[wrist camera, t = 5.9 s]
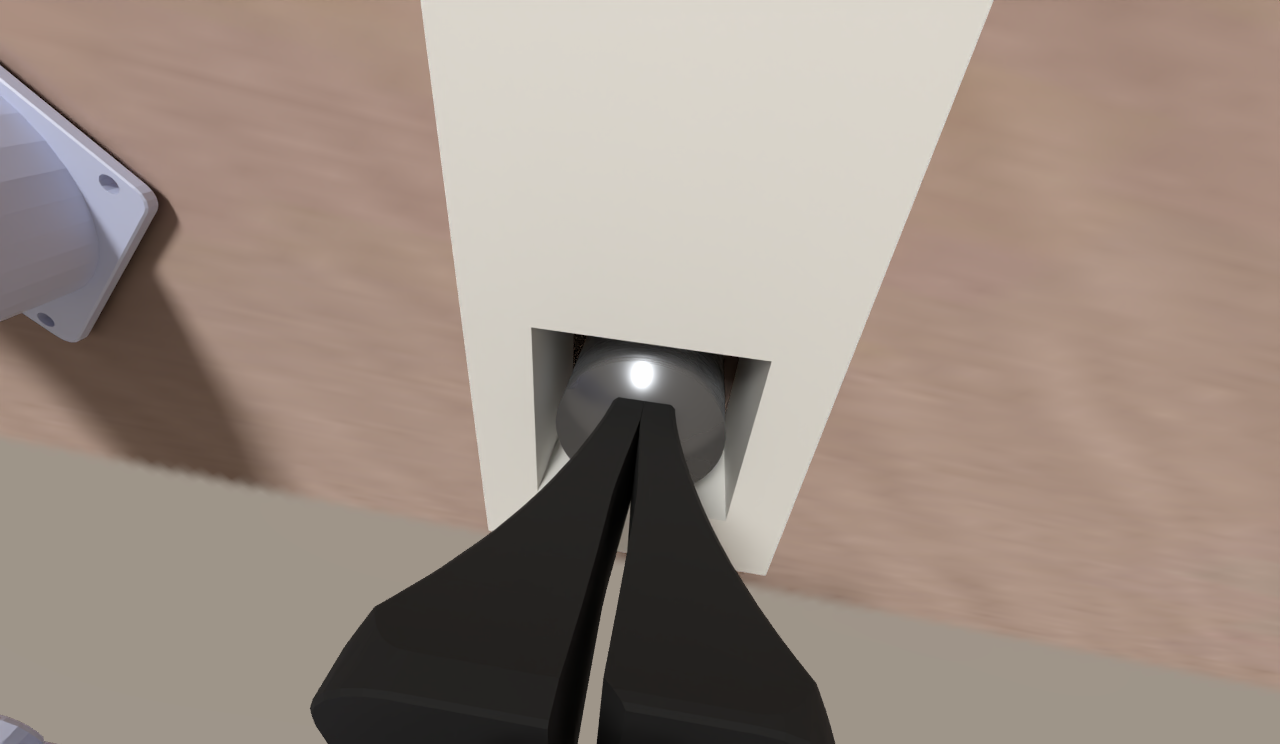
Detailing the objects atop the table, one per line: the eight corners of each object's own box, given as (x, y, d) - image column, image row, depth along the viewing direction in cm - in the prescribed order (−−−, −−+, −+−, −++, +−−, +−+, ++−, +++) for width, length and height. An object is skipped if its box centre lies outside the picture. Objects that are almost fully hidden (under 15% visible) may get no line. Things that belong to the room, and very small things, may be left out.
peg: (559, 339, 15) (521, 416, 12) (665, 262, 13) (651, 329, 10) (644, 426, 16) (629, 513, 13) (750, 367, 15) (760, 452, 12)
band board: (476, -724, 6) (224, -1524, 3) (1125, -702, 6) (1625, -1593, 3) (530, 438, 18) (488, 530, 14) (755, 472, 17) (765, 575, 14)
